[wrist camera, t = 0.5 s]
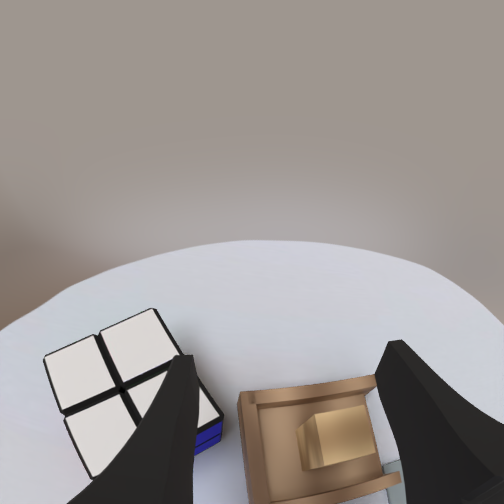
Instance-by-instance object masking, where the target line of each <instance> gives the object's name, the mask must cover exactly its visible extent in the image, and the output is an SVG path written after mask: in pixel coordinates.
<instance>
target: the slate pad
mask: <svg viewBox="0 0 504 504" xmlns="http://www.w3.org/2000/svg"><path fill="white" fill-rule="evenodd" d="M382 471H383V474H388V473H393V472H397V471H400V476H401V481H402V483H399V484H396V485H394V486H391V487H388V488H386V490H387V495H388V500H389V504H406V493H405V484H404V477H403V471H402V465H401V460H398V461H395V462H393V463H390V464H387V465H384V466H382Z"/></svg>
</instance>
